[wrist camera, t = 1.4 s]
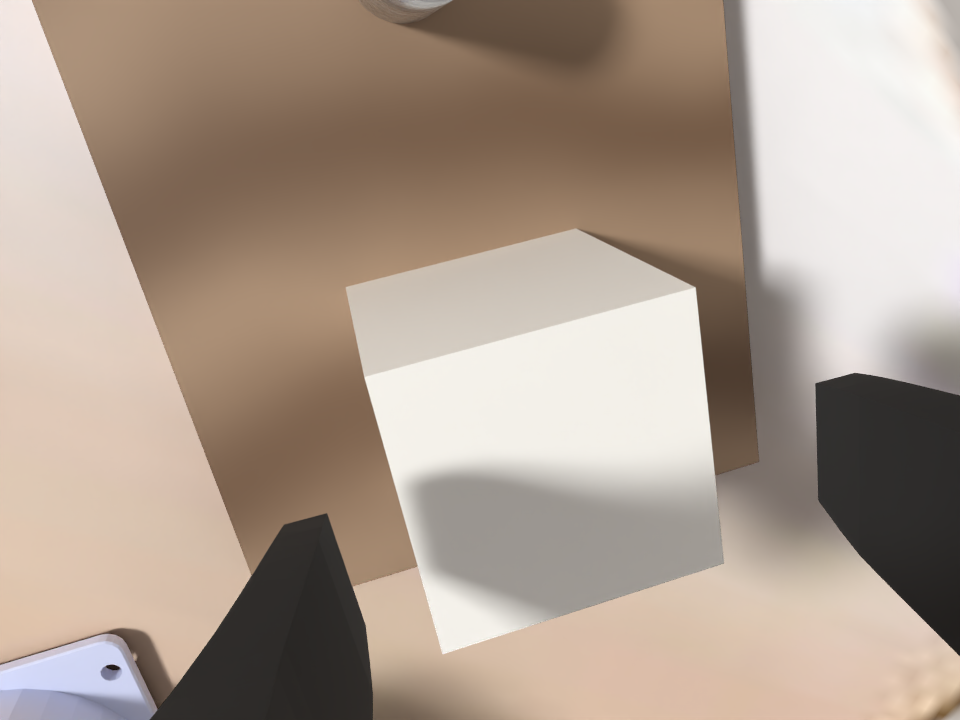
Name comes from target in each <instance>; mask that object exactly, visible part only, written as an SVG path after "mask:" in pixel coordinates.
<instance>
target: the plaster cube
mask: <svg viewBox="0 0 960 720" xmlns="http://www.w3.org/2000/svg"><path fill="white" fill-rule="evenodd" d="M346 292H347V296H348V301H349V306H350V311H351V316H352V320H353V325H354V330H355V335H356V340H357V344H358V349H359V354H360V359H361V364H362V368H363V373H364V378H365V381H366V385H367V388H368V392H369V395H370V399H371V403H372V406H373V410H374V413H375V417H376V420H377V424H378V427H379V431H380V434H381V438H382V441H383V445H384V449H385V452H386V456H387V459H388V463H389V466H390V470H391V473H392V477H393V480H394V484H395V487H396V491H397V494H398V498H399V502H400V505H401V509H402V512H403V516H404V519H405V523H406V526H407V530H408V533H409V537H410V540H411V544H412V548H413V551H414V555H415V558H416V562H417V565H418V569H419V572H420V576H421V579H422V583H423V586H424V590H425V593H426V597H427V601H428V604H429V608H430V611H431V615H432V618H433V622H434V625H435V629H436V632H437V636H438V639H439V643H440V647H441V650H442V654H445V653H448V652H451V651H454V650H457V649H460V648H464V647H467V646H470V645H473V644H476V643H479V642H482V641H485V640H488V639H491V638H495V637H498V636H501V635H504V634H507V633H510V632H513V631H516V630H519V629H522V628H526V627H529V626H532V625H535V624H538V623H541V622H544V621H547V620H550V619H553V618H556V617H560V616H563V615H566V614H569V613H572V612H575V611H578V610H581V609H584V608H587V607H591V606H594V605H597V604H600V603H603V602H606V601H609V600H612V599H615V598H618V597H622V596H625V595H628V594H631V593H634V592H637V591H640V590H643V589H646V588H649V587H653V586H656V585H659V584H662V583H665V582H668V581H671V580H674V579H677V578H680V577H683V576H687V575H690V574H693V573H696V572H699V571H702V570H705V569H708V568H711V567H714V566H718V565H721V564H724V558H723V548H722V539H721V529H720V519H719V510H718V500H717V490H716V480H715V471H714V461H713V451H712V442H711V432H710V422H709V413H708V403H707V393H706V383H705V374H704V364H703V354H702V345H701V335H700V325H699V315H698V306H697V296H696V287H694V286H692V285H690V284H688V283H686V282H684V281H682V280H680V279H678V278H676V277H674V276H672V275H670V274H667V273H665V272H663V271H661V270H659V269H657V268H655V267H653V266H651V265H649V264H647V263H645V262H643V261H641V260H639V259H637V258H635V257H633V256H631V255H629V254H627V253H625V252H623V251H621V250H619V249H617V248H615V247H613V246H611V245H609V244H607V243H605V242H603V241H601V240H599V239H597V238H595V237H593V236H591V235H589V234H586V233H584V232H582V231H580V230H578V229H572V230H568V231H564V232H560V233H556V234H552V235H549V236H545V237H541V238H537V239H533V240H529V241H525V242H521V243H517V244H513V245H509V246H505V247H501V248H497V249H494V250H490V251H486V252H482V253H478V254H474V255H470V256H466V257H462V258H458V259H454V260H450V261H446V262H442V263H438V264H435V265H431V266H427V267H423V268H419V269H415V270H411V271H407V272H403V273H399V274H395V275H391V276H387V277H383V278H379V279H376V280H372V281H368V282H364V283H360V284H356V285H352V286H348V287H346Z"/></svg>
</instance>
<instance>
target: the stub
mask: <svg viewBox="0 0 960 720" xmlns="http://www.w3.org/2000/svg"><path fill="white" fill-rule="evenodd" d="M359 1H360V3H361V4H362V5H363V6H364V7H365V8H366V9H367V10H368V11H369V12H371V13H372V14H373V15H375V16H377V17H378V18H380V19H383V20H385V21H388V22H391V23H398V24H407V23H413V22H417V21H420V20H422V19H424V18H426V17H428V16H429V15H431V14H432V13H434V12H436V11H437V10H439V9H440V8H442V7H443V6H445V5H446V4H448V3H450V2H451V1H453V0H359Z"/></svg>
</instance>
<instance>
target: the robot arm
mask: <svg viewBox="0 0 960 720" xmlns="http://www.w3.org/2000/svg"><path fill="white" fill-rule="evenodd" d="M815 386H816V426H817V465H818V500H819V502H820V503H821V505H822V506H823V507H824V509H825V510H826V511H827V513H828V514H829V516H830V517H831V518H832V520H833V521H834V523H835V524H836V525H837V527H838V528H839V529H840V531H841V532H842V533H843V535H844V536H845V537H846V538H847V540H848V541H849V542H850V543H851V545H852V546H853V547H854V549H855V550H856V551H857V552H858V554H859V555H860V556H861V557H862V558H863V559H864V560H865V561H866V562H867V563H868V564H869V565H870V566H871V567H872V569H873V570H874V571H875V572H876V573H877V574H878V575H879V576H880V577H881V578H882V579H883V580H884V581H885V582H886V583H887V584H888V585H889V586H890V587H891V588H892V589H893V590H894V591H895V592H896V593H897V594H898V595H899V596H900V597H901V598H902V599H903V600H904V601H905V602H906V603H907V604H908V605H909V606H910V607H911V608H912V609H913V610H914V611H915V612H916V613H917V614H918V615H919V616H920V617H921V618H922V619H923V620H924V621H925V622H926V623H927V624H928V625H929V626H930V627H931V628H932V629H933V630H934V631H935V632H936V633H937V634H938V635H939V636H940V637H941V638H942V639H943V640H944V641H945V642H946V643H947V644H948V645H949V646H950V647H951V648H952V649H953V650H954V651H955V652H956V653H957V654H958V655H959V656H960V396H959V395H955V394H951V393H947V392H943V391H939V390H935V389H931V388H927V387H922V386H918V385H914V384H910V383H906V382H901V381H897V380H892V379H888V378H883V377H878V376H872V375H866V374H859V373H853V374H849V375H845V376H842V377H838V378H834V379H830V380H827V381H823V382H819V383H815ZM111 664H114V665H117V666H119V667H120V668H121V669H119V670H110V669H108V668H107V667H106V665H111ZM372 719H373V691H372V680H371V670H370V660H369V651H368V642H367V634H366V625H365V623H364V620H363V617H362V614H361V611H360V608H359V605H358V602H357V599H356V596H355V593H354V590H353V587H352V585H351V582H350V579H349V576H348V573H347V570H346V567H345V564H344V561H343V558H342V555H341V552H340V549H339V547H338V544H337V541H336V538H335V535H334V532H333V529H332V526H331V523H330V520H329V517H328V514H327V513H326V514H322V515H318V516H314V517H311V518H307V519H303V520H299V521H295V522H292V523H288V524H284V525H283V527H282V528H281V530H280V531H279V533H278V534H277V536H276V537H275V539H274V541H273V542H272V544H271V545H270V547H269V548H268V550H267V552H266V553H265V555H264V557H263V558H262V560H261V561H260V563H259V565H258V566H257V568H256V570H255V571H254V573H253V574H252V576H251V578H250V579H249V581H248V582H247V584H246V586H245V587H244V589H243V591H242V592H241V594H240V595H239V597H238V598H237V600H236V601H235V603H234V604H233V606H232V608H231V609H230V611H229V612H228V614H227V615H226V617H225V618H224V620H223V621H222V623H221V624H220V626H219V627H218V629H217V631H216V632H215V634H214V635H213V636H212V638H211V639H210V640H209V642H208V643H207V645H206V646H205V647H204V649H203V650H202V651H201V653H200V654H199V656H198V657H197V658H196V660H195V661H194V663H193V664H192V665H191V667H190V668H189V669H188V671H187V672H186V674H185V675H184V676H183V678H182V679H181V680H180V682H179V683H178V685H177V686H176V687H175V689H174V690H173V691H172V692H171V694H170V695H169V696H168V698H167V699H166V700H165V701H164V703H163V704H162V705H161V706H160V708H159V709H157V707H156V705H155V703H154V701H153V699H152V696H151V694H150V692H149V690H148V688H147V686H146V684H145V682H144V680H143V678H142V675H141V673H140V671H139V669H138V667H137V665H136V663H135V661H134V659H133V656H132V654H131V652H130V650H129V648H128V646H127V644H126V642H125V641H124V640H123V639H122V638H121V637H119V636H117V635H113V634H102V635H98V636H95V637H91V638H88V639H85V640H81V641H78V642H75V643H71V644H68V645H65V646H61V647H58V648H55V649H51V650H48V651H45V652H42V653H38V654H35V655H32V656H28V657H25V658H22V659H18V660H15V661H12V662H8V663H5V664H2V665H0V720H372Z"/></svg>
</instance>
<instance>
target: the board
mask: <svg viewBox="0 0 960 720" xmlns="http://www.w3.org/2000/svg"><path fill="white" fill-rule="evenodd" d="M32 2H33V5H34V7H35V10H36V12H37V15H38V18H39V20H40V23H41V26H42V28H43V31H44V33H45V36H46V39H47V41H48V44H49V46H50V49H51V52H52V54H53V57H54V60H55V62H56V65H57V67H58V70H59V73H60V75H61V78H62V80H63V83H64V86H65V88H66V91H67V94H68V96H69V99H70V101H71V104H72V107H73V109H74V112H75V114H76V117H77V120H78V122H79V125H80V128H81V130H82V133H83V135H84V138H85V141H86V143H87V146H88V148H89V151H90V154H91V156H92V159H93V162H94V164H95V167H96V169H97V172H98V175H99V177H100V180H101V182H102V185H103V188H104V190H105V193H106V196H107V198H108V201H109V203H110V206H111V209H112V211H113V214H114V216H115V219H116V222H117V224H118V227H119V230H120V232H121V235H122V237H123V240H124V243H125V245H126V248H127V250H128V253H129V256H130V258H131V261H132V264H133V266H134V269H135V271H136V274H137V277H138V279H139V282H140V284H141V287H142V290H143V292H144V295H145V298H146V300H147V303H148V305H149V308H150V311H151V313H152V316H153V318H154V321H155V324H156V326H157V329H158V332H159V334H160V337H161V339H162V342H163V345H164V347H165V350H166V352H167V355H168V358H169V360H170V363H171V366H172V368H173V371H174V373H175V376H176V379H177V381H178V384H179V386H180V389H181V392H182V394H183V397H184V400H185V402H186V405H187V407H188V410H189V413H190V415H191V418H192V420H193V423H194V426H195V428H196V431H197V434H198V436H199V439H200V441H201V444H202V447H203V449H204V452H205V454H206V457H207V460H208V462H209V465H210V468H211V470H212V473H213V475H214V478H215V481H216V483H217V486H218V488H219V491H220V494H221V496H222V499H223V502H224V504H225V507H226V509H227V512H228V515H229V517H230V520H231V522H232V525H233V528H234V530H235V533H236V536H237V538H238V541H239V543H240V546H241V549H242V551H243V554H244V556H245V559H246V562H247V564H248V567H249V570H250V572H251V575H252V574H253V573H254V571H255V570H256V568H257V566H258V565H259V563H260V561H261V560H262V558H263V557H264V555H265V553H266V552H267V550H268V548H269V547H270V545H271V544H272V542H273V541H274V539H275V537H276V536H277V534H278V533H279V531H280V530H281V528H282V527H283V525H284V524H288V523H292V522H295V521H299V520H303V519H307V518H311V517H314V516H318V515H322V514H326V513H327V514H328V517H329V520H330V523H331V526H332V529H333V532H334V535H335V538H336V541H337V544H338V547H339V549H340V552H341V555H342V558H343V561H344V564H345V567H346V570H347V573H348V576H349V579H350V582H351V585H352V586H355V585H359V584H362V583H365V582H369V581H372V580H375V579H378V578H382V577H385V576H388V575H391V574H395V573H398V572H401V571H404V570H408V569H411V568H414V567H418V565H417V562H416V558H415V555H414V551H413V548H412V544H411V540H410V537H409V533H408V530H407V526H406V523H405V519H404V516H403V512H402V509H401V505H400V502H399V498H398V494H397V491H396V487H395V484H394V480H393V477H392V473H391V470H390V466H389V463H388V459H387V456H386V452H385V449H384V445H383V441H382V438H381V434H380V431H379V427H378V424H377V420H376V417H375V413H374V410H373V406H372V403H371V399H370V395H369V392H368V388H367V385H366V381H365V378H364V373H363V368H362V364H361V359H360V354H359V349H358V344H357V340H356V335H355V330H354V325H353V320H352V316H351V311H350V306H349V301H348V296H347V292H346V287H348V286H352V285H356V284H360V283H364V282H368V281H372V280H376V279H379V278H383V277H387V276H391V275H395V274H399V273H403V272H407V271H411V270H415V269H419V268H423V267H427V266H431V265H435V264H438V263H442V262H446V261H450V260H454V259H458V258H462V257H466V256H470V255H474V254H478V253H482V252H486V251H490V250H494V249H497V248H501V247H505V246H509V245H513V244H517V243H521V242H525V241H529V240H533V239H537V238H541V237H545V236H549V235H552V234H556V233H560V232H564V231H568V230H572V229H578V230H580V231H582V232H584V233H586V234H589V235H591V236H593V237H595V238H597V239H599V240H601V241H603V242H605V243H607V244H609V245H611V246H613V247H615V248H617V249H619V250H621V251H623V252H625V253H627V254H629V255H631V256H633V257H635V258H637V259H639V260H641V261H643V262H645V263H647V264H649V265H651V266H653V267H655V268H657V269H659V270H661V271H663V272H665V273H667V274H670V275H672V276H674V277H676V278H678V279H680V280H682V281H684V282H686V283H688V284H690V285H692V286H694V287H696V296H697V306H698V315H699V325H700V335H701V345H702V354H703V364H704V374H705V383H706V393H707V403H708V413H709V422H710V432H711V442H712V451H713V461H714V471H715V475H718V474H721V473H725V472H728V471H731V470H734V469H738V468H741V467H744V466H747V465H751V464H754V463H757V462H759V455H758V443H757V430H756V417H755V404H754V391H753V378H752V365H751V353H750V340H749V327H748V314H747V301H746V288H745V276H744V263H743V250H742V237H741V224H740V211H739V198H738V186H737V173H736V160H735V147H734V134H733V121H732V109H731V96H730V83H729V70H728V57H727V44H726V31H725V19H724V6H723V0H453V1H451V2H450V3H448V4H446V5H445V6H443V7H442V8H440V9H439V10H437V11H436V12H434V13H432V14H431V15H429V16H428V17H426V18H424V19H422V20H420V21H417V22H413V23H407V24H398V23H391V22H388V21H385V20H383V19H380V18H378V17H377V16H375V15H373V14H372V13H371V12H369V11H368V10H367V9H366V8H365V7H364V6H363V5H362V4H361V3H360V1H359V0H32Z"/></svg>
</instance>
